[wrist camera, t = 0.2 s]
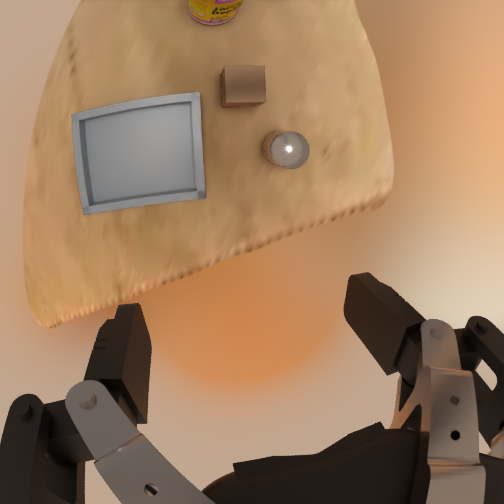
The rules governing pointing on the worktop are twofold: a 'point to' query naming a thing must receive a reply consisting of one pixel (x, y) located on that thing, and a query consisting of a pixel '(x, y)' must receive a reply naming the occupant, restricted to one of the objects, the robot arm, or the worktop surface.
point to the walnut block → (242, 86)
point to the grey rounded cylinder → (286, 149)
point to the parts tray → (139, 153)
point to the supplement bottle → (213, 10)
